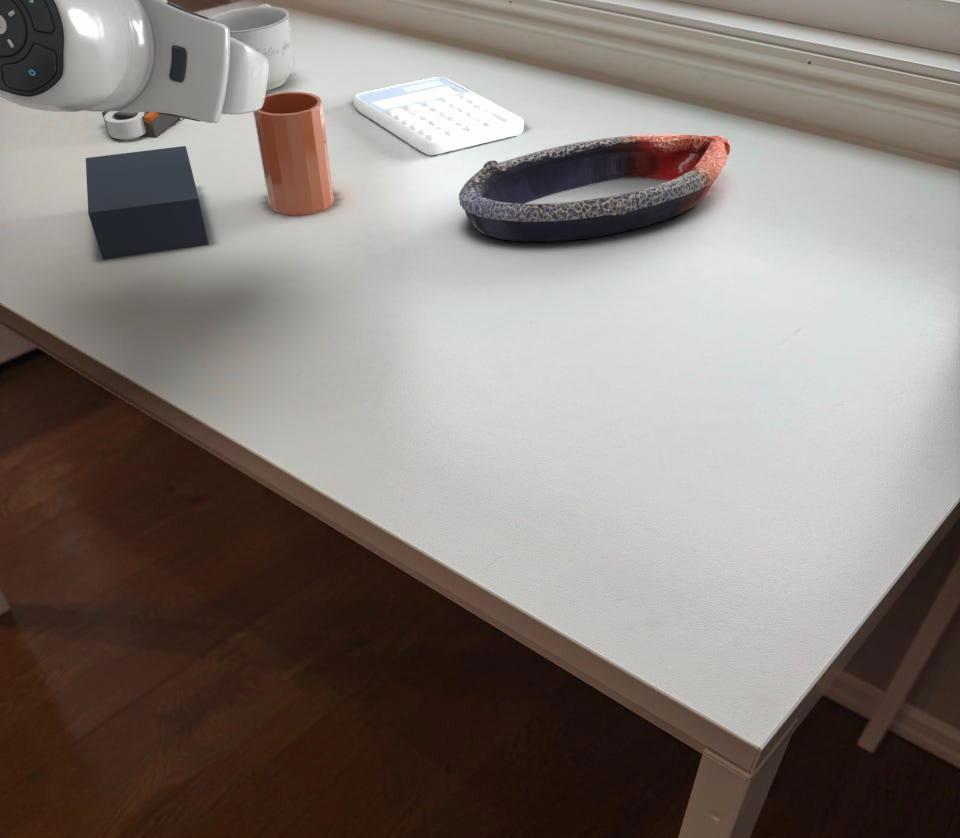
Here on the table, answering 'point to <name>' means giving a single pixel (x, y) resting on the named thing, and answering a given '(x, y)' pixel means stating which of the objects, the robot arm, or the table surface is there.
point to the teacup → (264, 37)
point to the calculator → (438, 115)
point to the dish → (512, 183)
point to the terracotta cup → (294, 153)
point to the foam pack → (144, 202)
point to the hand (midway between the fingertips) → (161, 49)
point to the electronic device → (136, 124)
